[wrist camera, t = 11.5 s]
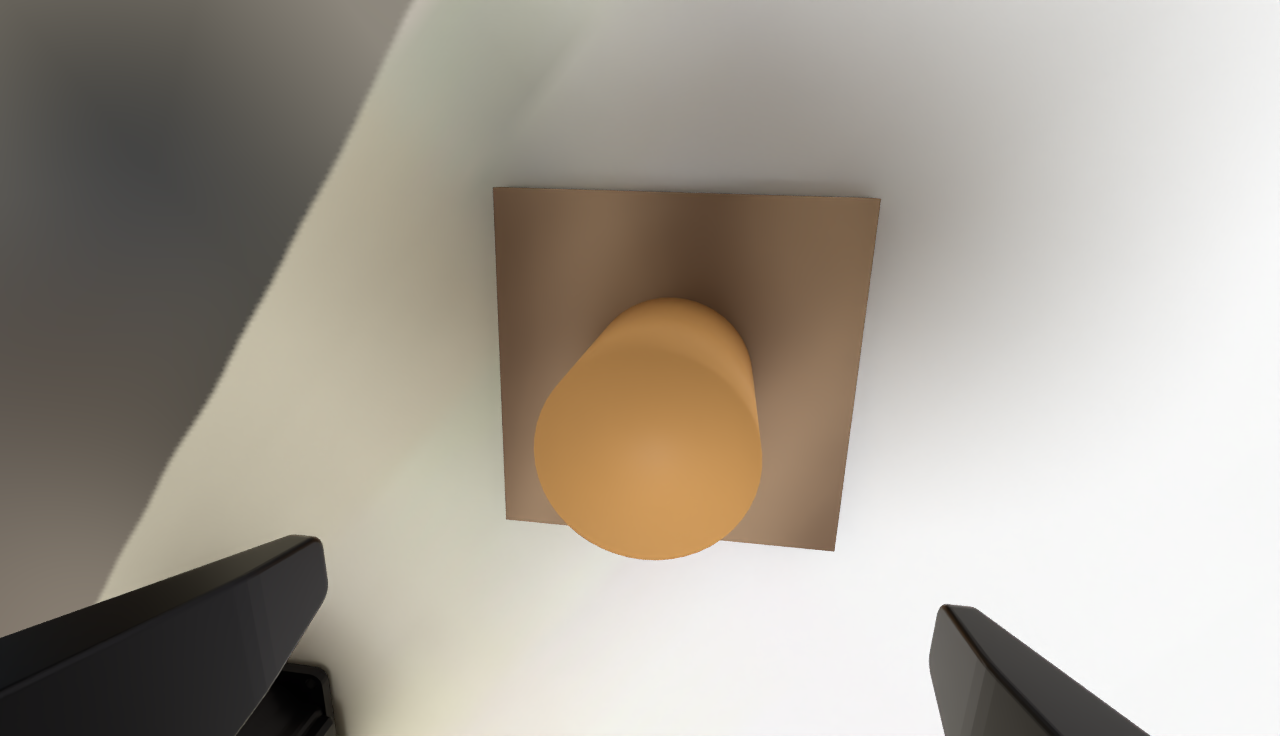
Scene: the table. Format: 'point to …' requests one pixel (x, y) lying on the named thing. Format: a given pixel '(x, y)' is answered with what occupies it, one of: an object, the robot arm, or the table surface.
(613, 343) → the orange cylinder
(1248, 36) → the table surface
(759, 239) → the walnut pad
